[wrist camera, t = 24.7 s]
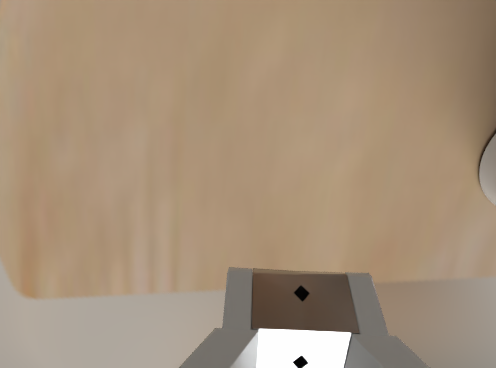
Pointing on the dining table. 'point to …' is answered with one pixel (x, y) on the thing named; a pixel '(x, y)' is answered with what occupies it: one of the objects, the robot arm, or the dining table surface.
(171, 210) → the dining table surface
